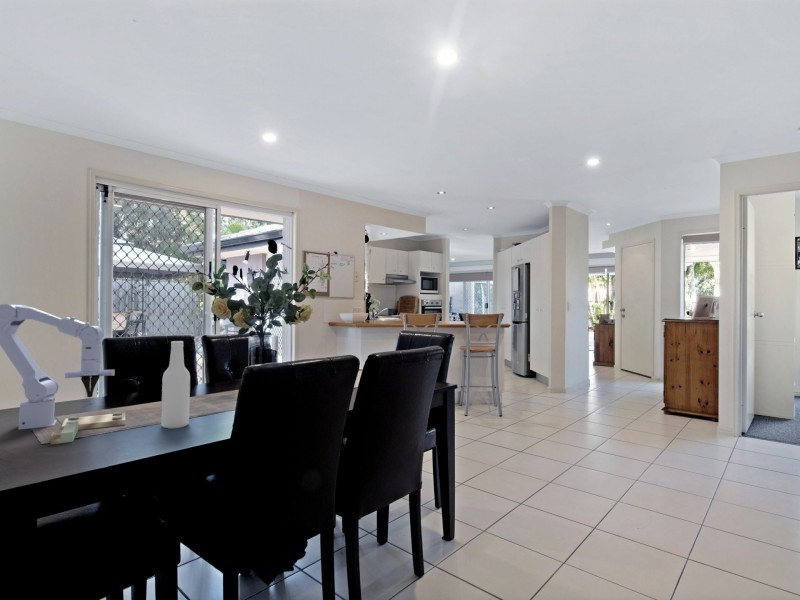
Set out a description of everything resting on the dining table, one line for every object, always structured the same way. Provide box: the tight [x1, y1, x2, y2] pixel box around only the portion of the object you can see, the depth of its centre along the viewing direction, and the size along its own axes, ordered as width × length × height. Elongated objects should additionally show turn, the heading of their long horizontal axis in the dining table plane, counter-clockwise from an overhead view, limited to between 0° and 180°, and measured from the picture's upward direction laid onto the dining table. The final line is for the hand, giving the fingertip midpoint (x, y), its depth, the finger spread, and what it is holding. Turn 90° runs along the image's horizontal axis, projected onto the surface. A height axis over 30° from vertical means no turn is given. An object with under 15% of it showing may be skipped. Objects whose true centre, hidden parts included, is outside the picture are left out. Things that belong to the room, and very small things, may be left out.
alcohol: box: [160, 340, 191, 430], centre depth 155 cm, size 9×9×30 cm
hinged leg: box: [60, 421, 79, 444], centre depth 139 cm, size 15×3×3 cm, turn 31°
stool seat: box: [49, 411, 127, 446], centre depth 147 cm, size 19×27×3 cm
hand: (89, 396), depth 156 cm, fingers closed
